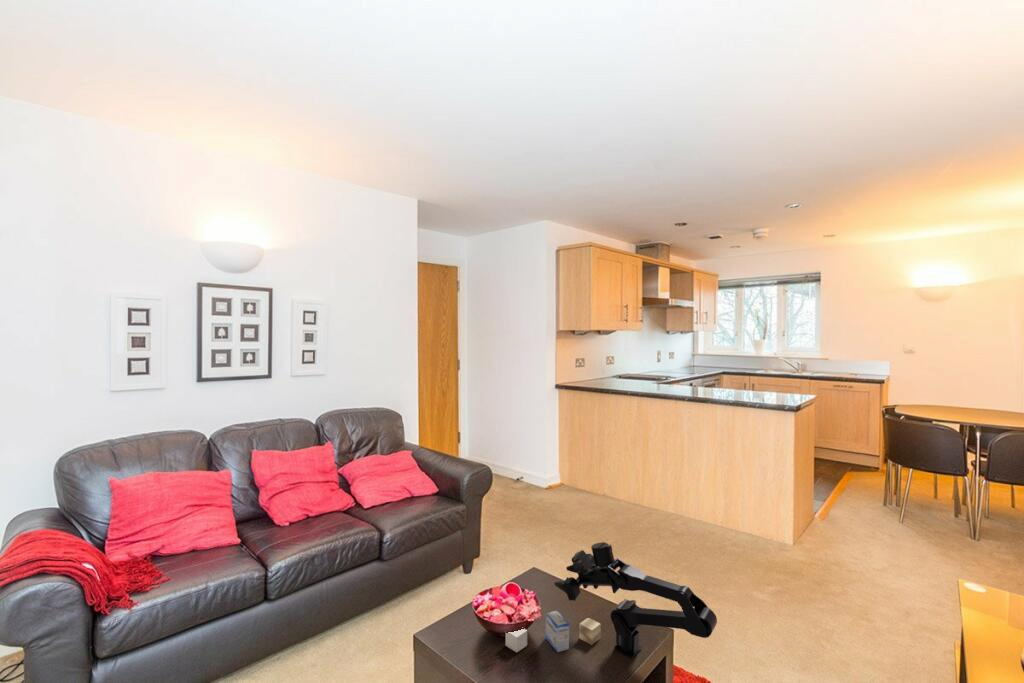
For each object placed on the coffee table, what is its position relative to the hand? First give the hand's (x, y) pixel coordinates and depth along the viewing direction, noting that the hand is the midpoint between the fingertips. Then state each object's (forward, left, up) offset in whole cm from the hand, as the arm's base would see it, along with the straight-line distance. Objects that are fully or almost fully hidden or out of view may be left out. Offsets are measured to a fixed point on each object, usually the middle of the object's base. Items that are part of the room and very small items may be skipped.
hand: (560, 576), depth 169 cm
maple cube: (-13, +1, -16) cm, 21 cm away
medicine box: (-7, +11, -16) cm, 21 cm away
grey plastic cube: (+2, +21, -16) cm, 26 cm away
